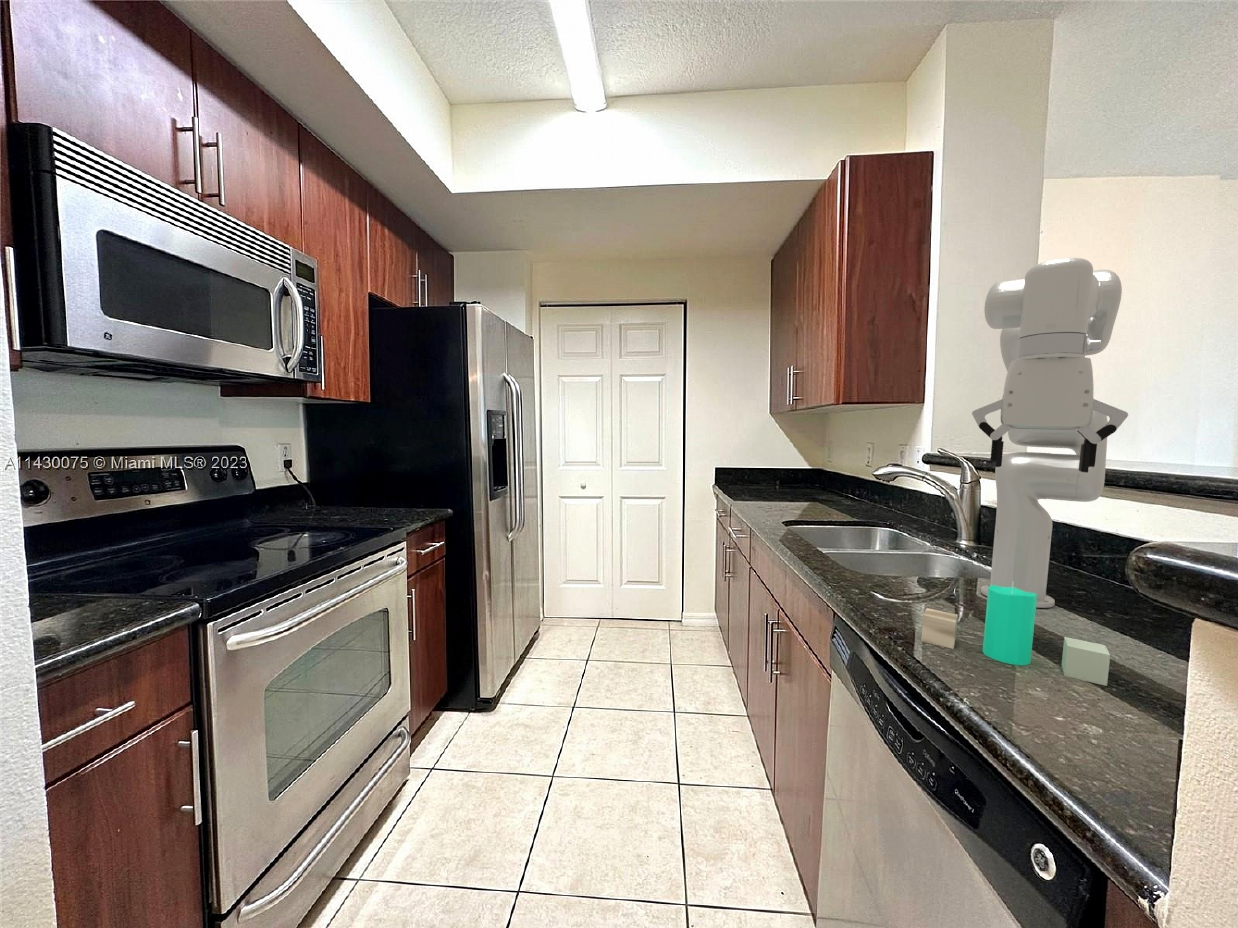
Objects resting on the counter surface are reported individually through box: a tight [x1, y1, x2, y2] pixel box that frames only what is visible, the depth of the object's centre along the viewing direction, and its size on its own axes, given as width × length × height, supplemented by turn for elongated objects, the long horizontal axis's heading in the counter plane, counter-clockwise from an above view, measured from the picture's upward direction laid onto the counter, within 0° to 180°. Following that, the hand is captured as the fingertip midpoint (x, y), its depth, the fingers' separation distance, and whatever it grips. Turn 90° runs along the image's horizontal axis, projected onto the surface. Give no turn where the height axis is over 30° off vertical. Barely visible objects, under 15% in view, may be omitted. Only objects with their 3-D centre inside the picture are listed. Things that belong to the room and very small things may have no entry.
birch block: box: [920, 607, 959, 650], centre depth 85 cm, size 4×4×4 cm
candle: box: [982, 581, 1037, 666], centre depth 80 cm, size 6×6×12 cm
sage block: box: [1061, 636, 1111, 687], centre depth 74 cm, size 4×4×4 cm
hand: (1039, 469), depth 75 cm, fingers open, 9 cm apart
